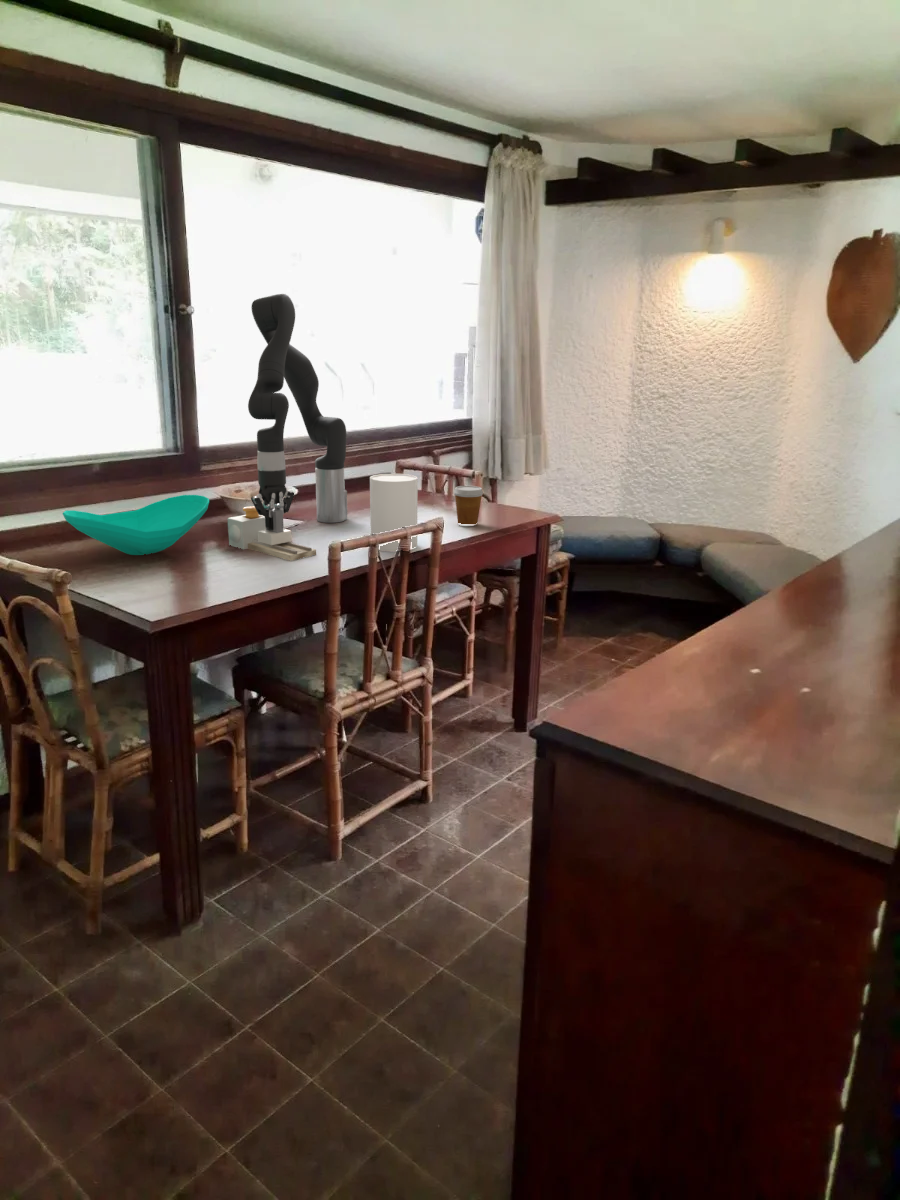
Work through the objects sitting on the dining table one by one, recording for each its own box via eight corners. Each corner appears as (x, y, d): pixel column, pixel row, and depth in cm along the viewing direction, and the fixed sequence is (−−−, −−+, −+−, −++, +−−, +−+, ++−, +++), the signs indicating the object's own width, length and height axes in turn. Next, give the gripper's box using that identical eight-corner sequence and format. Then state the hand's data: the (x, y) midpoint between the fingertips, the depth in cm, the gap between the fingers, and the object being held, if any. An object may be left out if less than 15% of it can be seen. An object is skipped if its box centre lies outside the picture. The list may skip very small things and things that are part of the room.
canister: (373, 539, 249) (372, 473, 243) (418, 541, 248) (419, 474, 242) (367, 551, 236) (367, 480, 230) (415, 552, 236) (415, 482, 229)
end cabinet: (263, 538, 248) (261, 511, 246) (278, 542, 244) (276, 515, 241) (228, 545, 239) (226, 518, 237) (242, 549, 235) (240, 522, 232)
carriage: (278, 537, 239) (277, 506, 236) (291, 541, 235) (290, 509, 232) (258, 541, 234) (256, 510, 231) (271, 545, 230) (270, 513, 227)
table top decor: (184, 532, 253) (180, 489, 249) (233, 549, 235) (230, 503, 231) (50, 554, 226) (43, 506, 222) (94, 575, 208) (88, 523, 204)
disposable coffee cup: (448, 526, 268) (449, 489, 265) (459, 520, 277) (460, 484, 273) (476, 529, 265) (477, 491, 261) (486, 523, 273) (487, 487, 270)
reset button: (254, 517, 243) (253, 505, 242) (264, 520, 240) (264, 508, 239) (240, 520, 239) (239, 508, 238) (250, 522, 236) (249, 510, 235)
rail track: (273, 543, 243) (273, 535, 242) (316, 554, 231) (316, 546, 230) (248, 548, 236) (247, 540, 236) (290, 560, 224) (290, 552, 224)
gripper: (283, 463, 236) (285, 523, 241) (242, 468, 226) (245, 530, 231) (300, 466, 231) (302, 527, 236) (259, 471, 221) (262, 535, 226)
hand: (274, 528), depth 233 cm, fingers closed on carriage, 2 cm apart
